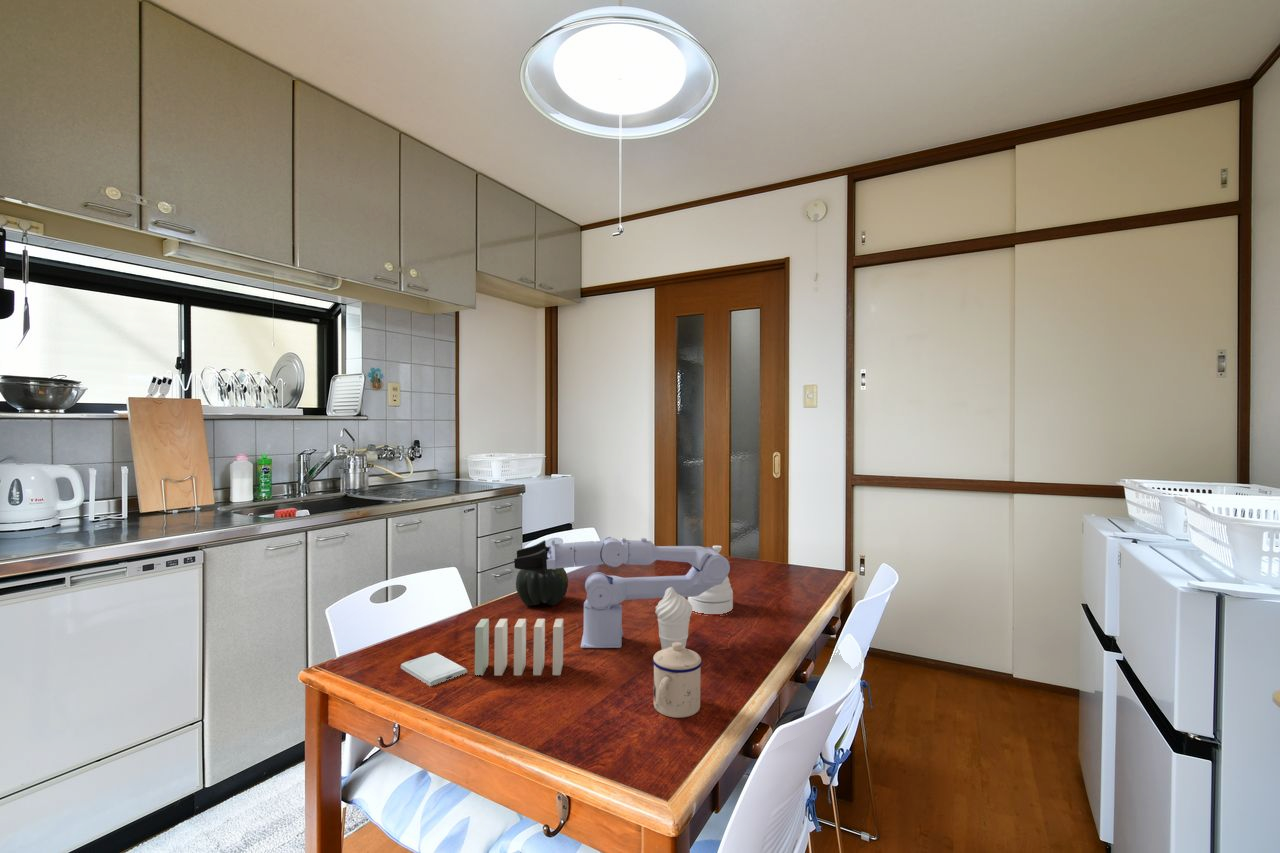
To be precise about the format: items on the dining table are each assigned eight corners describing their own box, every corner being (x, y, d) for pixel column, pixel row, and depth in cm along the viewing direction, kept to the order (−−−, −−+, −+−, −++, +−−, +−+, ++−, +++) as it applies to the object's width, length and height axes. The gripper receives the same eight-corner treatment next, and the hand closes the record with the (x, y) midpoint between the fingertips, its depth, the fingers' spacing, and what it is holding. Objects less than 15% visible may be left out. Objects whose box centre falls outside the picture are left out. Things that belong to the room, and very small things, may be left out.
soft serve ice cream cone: (695, 654, 125) (696, 584, 125) (686, 669, 117) (687, 594, 118) (660, 649, 128) (661, 580, 128) (649, 664, 120) (650, 590, 120)
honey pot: (739, 606, 160) (740, 544, 160) (721, 619, 149) (722, 552, 149) (699, 598, 167) (700, 539, 167) (679, 610, 156) (680, 546, 156)
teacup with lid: (664, 690, 108) (664, 631, 108) (708, 701, 104) (709, 639, 104) (636, 719, 97) (637, 653, 97) (684, 732, 93) (685, 663, 93)
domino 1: (488, 665, 119) (488, 618, 119) (482, 675, 114) (483, 627, 114) (480, 665, 119) (481, 618, 119) (474, 675, 114) (475, 627, 114)
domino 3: (525, 664, 119) (526, 618, 119) (521, 675, 114) (522, 627, 114) (518, 665, 119) (518, 618, 119) (513, 675, 114) (514, 627, 114)
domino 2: (507, 665, 119) (507, 618, 119) (502, 675, 114) (502, 627, 114) (499, 665, 119) (500, 618, 119) (494, 675, 114) (494, 627, 114)
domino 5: (562, 664, 119) (563, 618, 119) (560, 675, 114) (560, 626, 114) (555, 664, 119) (555, 618, 119) (552, 675, 114) (553, 626, 114)
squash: (555, 595, 151) (564, 546, 161) (503, 594, 153) (516, 546, 163) (567, 617, 161) (575, 570, 171) (518, 615, 163) (529, 569, 173)
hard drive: (400, 663, 117) (430, 681, 109) (436, 651, 123) (467, 667, 115) (400, 671, 117) (430, 689, 109) (436, 659, 123) (467, 675, 115)
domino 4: (544, 664, 119) (544, 618, 119) (540, 675, 114) (541, 627, 114) (536, 664, 119) (537, 618, 119) (533, 675, 114) (533, 627, 114)
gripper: (572, 531, 138) (517, 535, 136) (574, 544, 124) (512, 549, 122) (573, 559, 139) (518, 564, 137) (575, 576, 124) (514, 581, 122)
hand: (515, 559), depth 129 cm, fingers open, 7 cm apart
